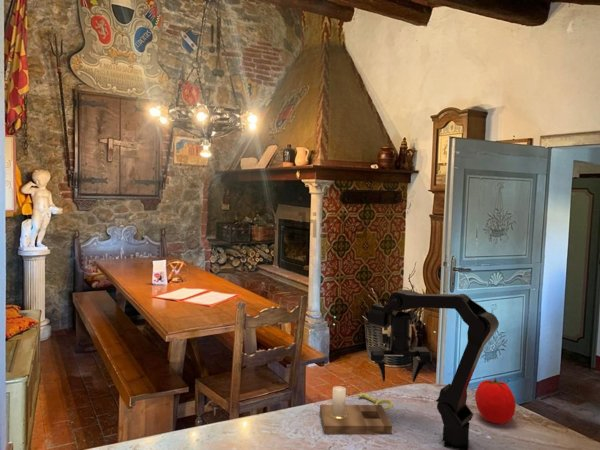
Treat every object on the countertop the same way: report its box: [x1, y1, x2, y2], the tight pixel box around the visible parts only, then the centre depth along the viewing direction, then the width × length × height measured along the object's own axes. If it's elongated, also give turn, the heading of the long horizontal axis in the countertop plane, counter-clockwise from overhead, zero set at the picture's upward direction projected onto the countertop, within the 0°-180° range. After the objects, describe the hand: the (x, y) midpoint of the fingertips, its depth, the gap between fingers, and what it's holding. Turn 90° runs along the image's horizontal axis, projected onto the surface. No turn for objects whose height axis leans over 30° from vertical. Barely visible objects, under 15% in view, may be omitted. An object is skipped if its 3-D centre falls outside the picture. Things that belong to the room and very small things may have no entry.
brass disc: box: [329, 411, 348, 419], centre depth 145 cm, size 6×6×1 cm
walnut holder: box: [319, 404, 393, 435], centre depth 146 cm, size 20×14×2 cm
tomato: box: [474, 377, 517, 425], centre depth 149 cm, size 12×12×13 cm
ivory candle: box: [331, 385, 347, 417], centre depth 145 cm, size 4×4×8 cm
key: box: [357, 391, 394, 411], centre depth 160 cm, size 7×12×2 cm, turn 65°
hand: (398, 381), depth 146 cm, fingers open, 9 cm apart
